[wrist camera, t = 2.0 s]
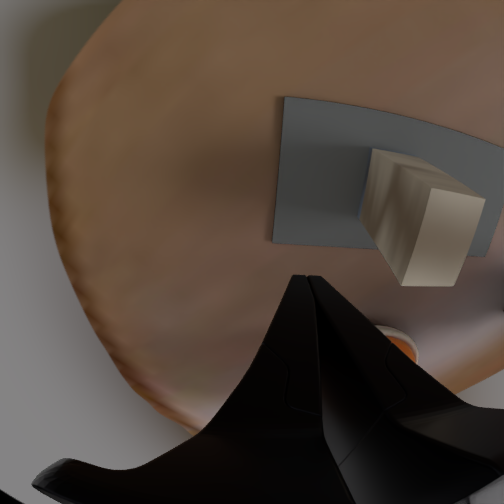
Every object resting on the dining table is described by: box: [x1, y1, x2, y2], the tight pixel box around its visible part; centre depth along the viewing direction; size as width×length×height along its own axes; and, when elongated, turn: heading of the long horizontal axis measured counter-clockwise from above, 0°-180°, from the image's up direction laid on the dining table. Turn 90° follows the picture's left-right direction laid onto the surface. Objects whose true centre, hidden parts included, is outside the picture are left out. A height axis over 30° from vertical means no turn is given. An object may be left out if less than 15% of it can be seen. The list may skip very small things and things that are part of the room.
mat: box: [272, 97, 504, 257], centre depth 19 cm, size 10×20×1 cm, turn 87°
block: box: [357, 147, 486, 286], centre depth 16 cm, size 5×4×8 cm
